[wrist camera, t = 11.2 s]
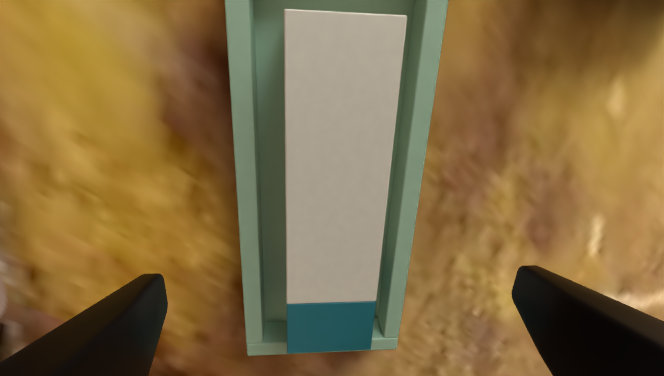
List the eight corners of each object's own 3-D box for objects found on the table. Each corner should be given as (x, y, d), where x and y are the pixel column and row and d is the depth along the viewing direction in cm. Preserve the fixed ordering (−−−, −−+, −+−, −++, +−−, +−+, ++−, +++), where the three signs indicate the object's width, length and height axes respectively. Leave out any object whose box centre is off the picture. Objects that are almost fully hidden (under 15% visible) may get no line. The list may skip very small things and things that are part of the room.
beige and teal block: (286, 17, 13) (283, 8, 10) (380, 21, 14) (408, 15, 10) (288, 297, 18) (286, 354, 15) (357, 295, 19) (371, 350, 15)
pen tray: (387, 321, 20) (397, 349, 18) (251, 326, 19) (246, 356, 17) (435, -41, 13) (457, -54, 12) (230, -56, 13) (219, -73, 11)
